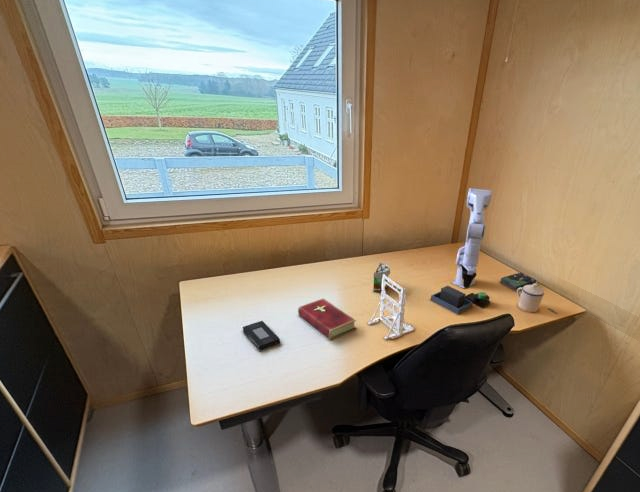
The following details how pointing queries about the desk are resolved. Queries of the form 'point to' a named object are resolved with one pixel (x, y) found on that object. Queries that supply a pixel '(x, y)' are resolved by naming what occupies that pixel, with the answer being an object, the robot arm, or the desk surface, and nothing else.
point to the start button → (482, 295)
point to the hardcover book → (327, 318)
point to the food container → (380, 277)
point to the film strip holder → (392, 311)
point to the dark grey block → (452, 296)
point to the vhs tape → (261, 335)
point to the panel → (478, 300)
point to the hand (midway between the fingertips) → (465, 283)
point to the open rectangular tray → (466, 305)
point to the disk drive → (517, 281)
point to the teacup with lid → (530, 297)
